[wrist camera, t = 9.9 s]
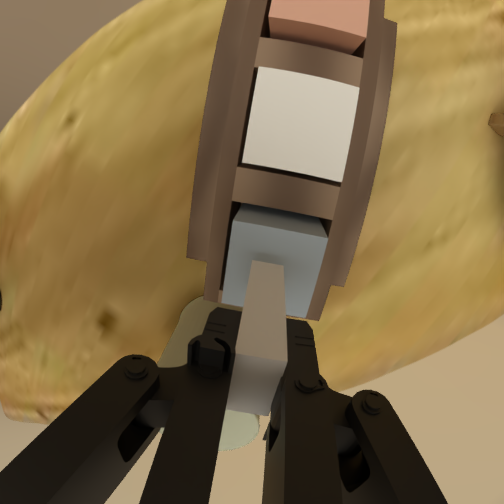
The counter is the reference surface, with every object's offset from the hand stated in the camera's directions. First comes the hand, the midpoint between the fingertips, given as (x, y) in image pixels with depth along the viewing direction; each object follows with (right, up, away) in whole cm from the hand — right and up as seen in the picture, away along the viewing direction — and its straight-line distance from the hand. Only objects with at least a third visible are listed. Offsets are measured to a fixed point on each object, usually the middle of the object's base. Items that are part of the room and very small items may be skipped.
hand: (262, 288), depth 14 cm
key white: (+2, +10, +5) cm, 12 cm away
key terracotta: (+4, +18, +2) cm, 18 cm away
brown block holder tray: (+3, +11, +7) cm, 14 cm away
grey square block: (+1, +3, +8) cm, 8 cm away
